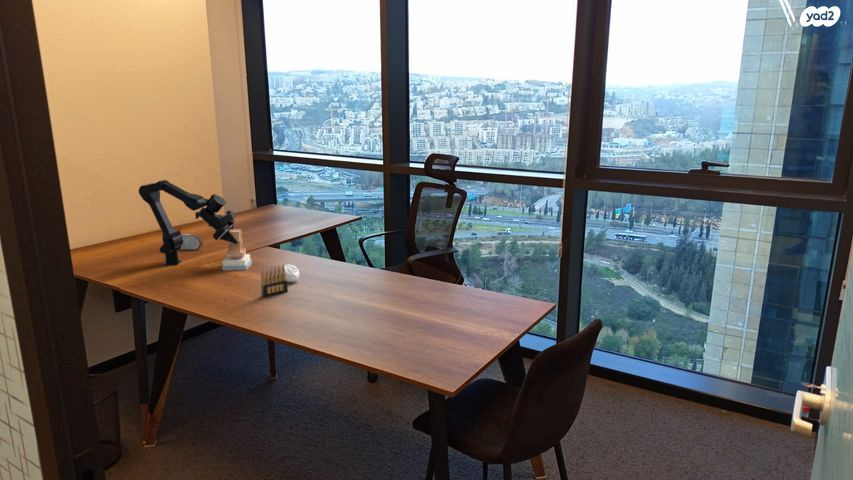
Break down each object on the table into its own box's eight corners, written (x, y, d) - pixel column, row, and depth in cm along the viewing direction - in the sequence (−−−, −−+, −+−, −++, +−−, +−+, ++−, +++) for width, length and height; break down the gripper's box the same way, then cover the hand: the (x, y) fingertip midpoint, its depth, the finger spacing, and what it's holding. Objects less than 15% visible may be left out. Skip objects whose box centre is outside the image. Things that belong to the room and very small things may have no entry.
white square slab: (245, 265, 267) (244, 260, 266) (223, 266, 267) (222, 260, 266) (250, 259, 277) (249, 254, 276) (228, 259, 276) (228, 254, 276)
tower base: (247, 271, 267) (246, 265, 266) (222, 271, 266) (222, 266, 266) (252, 264, 278) (251, 259, 277) (228, 264, 277) (228, 259, 276)
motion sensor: (294, 285, 247) (293, 268, 245) (278, 284, 248) (277, 266, 246) (302, 279, 254) (301, 262, 252) (286, 278, 256) (285, 261, 254)
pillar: (242, 257, 267) (240, 232, 264) (226, 257, 267) (224, 232, 264) (245, 253, 274) (244, 228, 271) (230, 253, 274) (228, 228, 271)
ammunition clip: (285, 290, 241) (284, 263, 237) (288, 291, 239) (286, 264, 236) (261, 296, 234) (259, 268, 231) (263, 297, 233) (261, 269, 229)
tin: (204, 249, 300) (202, 233, 298) (201, 251, 297) (199, 235, 295) (176, 248, 301) (174, 232, 299) (173, 250, 298) (171, 234, 296)
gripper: (217, 210, 255) (245, 234, 259) (228, 202, 273) (254, 224, 277) (201, 228, 257) (228, 251, 260) (213, 218, 275) (238, 240, 278)
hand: (238, 241), depth 269 cm, fingers closed on pillar, 5 cm apart
